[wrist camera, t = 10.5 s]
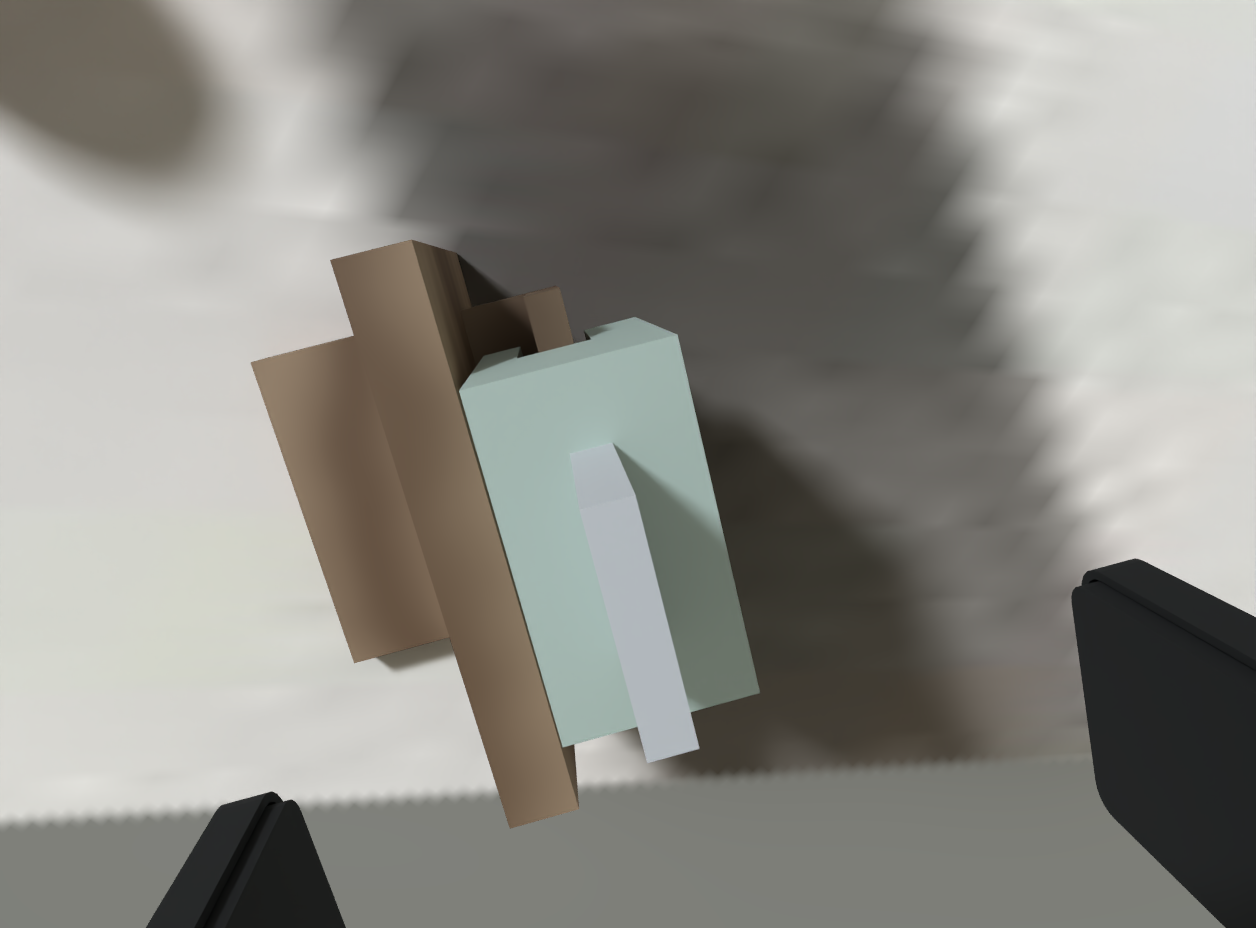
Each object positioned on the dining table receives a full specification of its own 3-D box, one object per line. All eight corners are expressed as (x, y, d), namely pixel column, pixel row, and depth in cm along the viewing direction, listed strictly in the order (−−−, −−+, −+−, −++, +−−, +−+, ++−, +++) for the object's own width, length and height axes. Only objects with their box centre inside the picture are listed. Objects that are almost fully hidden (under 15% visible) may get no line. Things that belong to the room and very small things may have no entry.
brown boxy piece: (539, 232, 33) (540, 207, 22) (641, 619, 37) (688, 778, 25) (245, 306, 33) (82, 322, 21) (376, 691, 36) (300, 887, 25)
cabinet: (634, 317, 29) (721, 353, 15) (696, 573, 31) (823, 812, 17) (483, 355, 28) (432, 428, 15) (556, 611, 30) (569, 884, 17)
